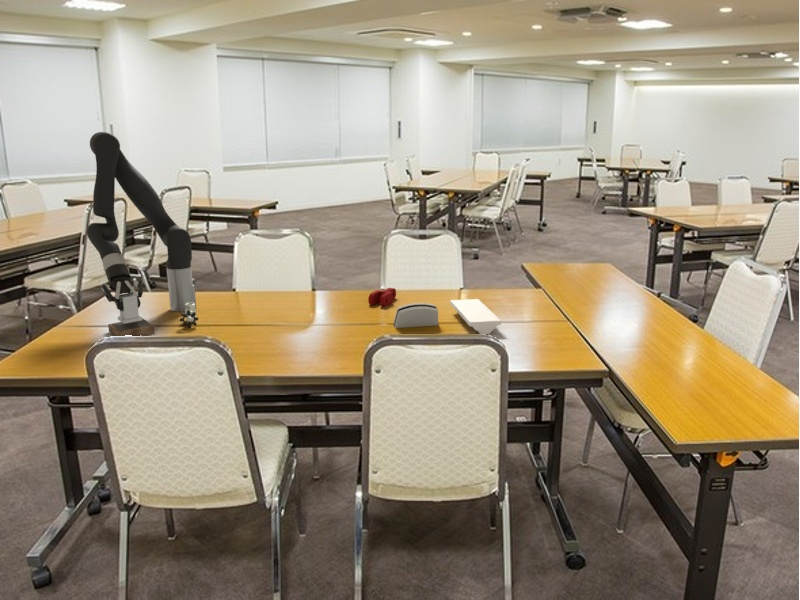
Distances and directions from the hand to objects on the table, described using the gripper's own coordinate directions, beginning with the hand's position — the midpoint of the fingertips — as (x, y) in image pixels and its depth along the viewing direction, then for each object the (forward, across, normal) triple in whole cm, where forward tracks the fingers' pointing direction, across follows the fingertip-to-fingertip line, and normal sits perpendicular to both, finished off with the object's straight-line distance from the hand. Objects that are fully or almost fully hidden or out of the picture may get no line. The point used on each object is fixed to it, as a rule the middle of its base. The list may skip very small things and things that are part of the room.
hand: (130, 308), depth 225 cm
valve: (+7, +21, +7) cm, 23 cm away
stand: (+6, 0, +8) cm, 10 cm away
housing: (+2, 0, +5) cm, 5 cm away
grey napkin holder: (+46, +85, -33) cm, 102 cm away
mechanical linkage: (+22, +96, -10) cm, 99 cm away
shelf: (+53, +104, -41) cm, 124 cm away
